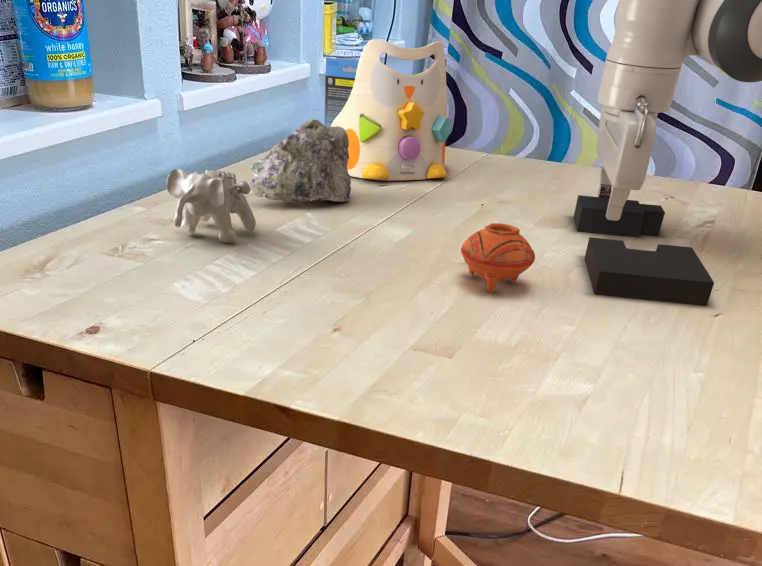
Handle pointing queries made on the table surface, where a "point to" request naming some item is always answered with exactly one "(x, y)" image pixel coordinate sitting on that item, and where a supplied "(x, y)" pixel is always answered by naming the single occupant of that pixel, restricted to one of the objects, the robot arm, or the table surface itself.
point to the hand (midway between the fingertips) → (607, 208)
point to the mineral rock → (305, 166)
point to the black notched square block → (647, 272)
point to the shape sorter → (397, 116)
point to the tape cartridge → (337, 87)
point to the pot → (497, 254)
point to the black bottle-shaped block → (629, 224)
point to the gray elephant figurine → (210, 201)
